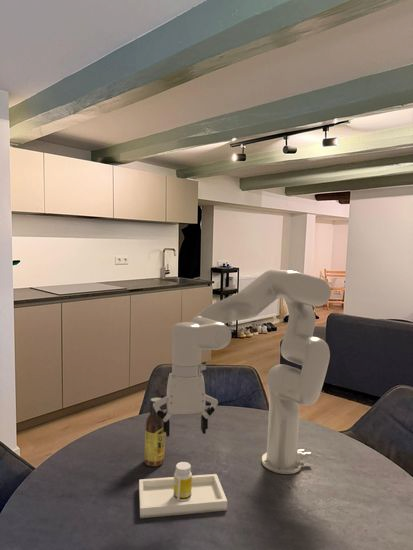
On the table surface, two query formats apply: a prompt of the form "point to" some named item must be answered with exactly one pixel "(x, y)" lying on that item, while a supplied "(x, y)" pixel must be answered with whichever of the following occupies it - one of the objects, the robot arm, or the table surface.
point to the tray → (161, 501)
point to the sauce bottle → (154, 438)
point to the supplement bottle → (182, 481)
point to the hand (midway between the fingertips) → (185, 432)
